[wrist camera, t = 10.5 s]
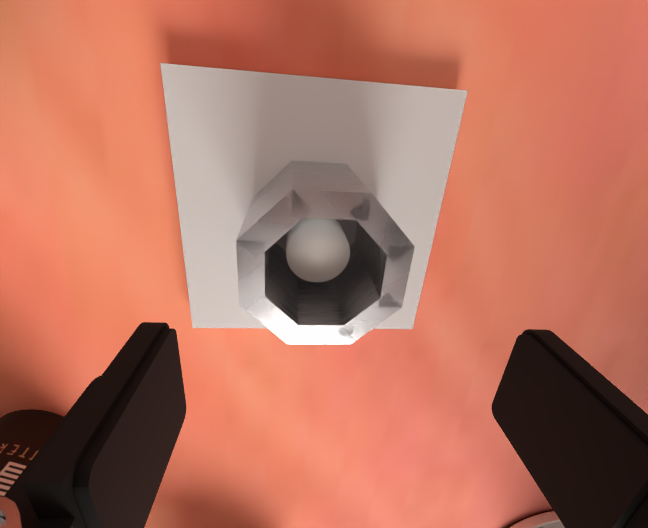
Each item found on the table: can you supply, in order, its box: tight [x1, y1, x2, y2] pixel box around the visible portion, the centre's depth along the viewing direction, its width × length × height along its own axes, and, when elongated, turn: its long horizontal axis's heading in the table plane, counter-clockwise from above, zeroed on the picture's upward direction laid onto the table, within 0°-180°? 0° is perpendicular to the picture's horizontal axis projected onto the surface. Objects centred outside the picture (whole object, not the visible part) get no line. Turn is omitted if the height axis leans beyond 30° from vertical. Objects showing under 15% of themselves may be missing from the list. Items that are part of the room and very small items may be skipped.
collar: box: [236, 160, 415, 344], centre depth 15 cm, size 7×7×6 cm
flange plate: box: [160, 63, 468, 329], centre depth 17 cm, size 14×14×5 cm
